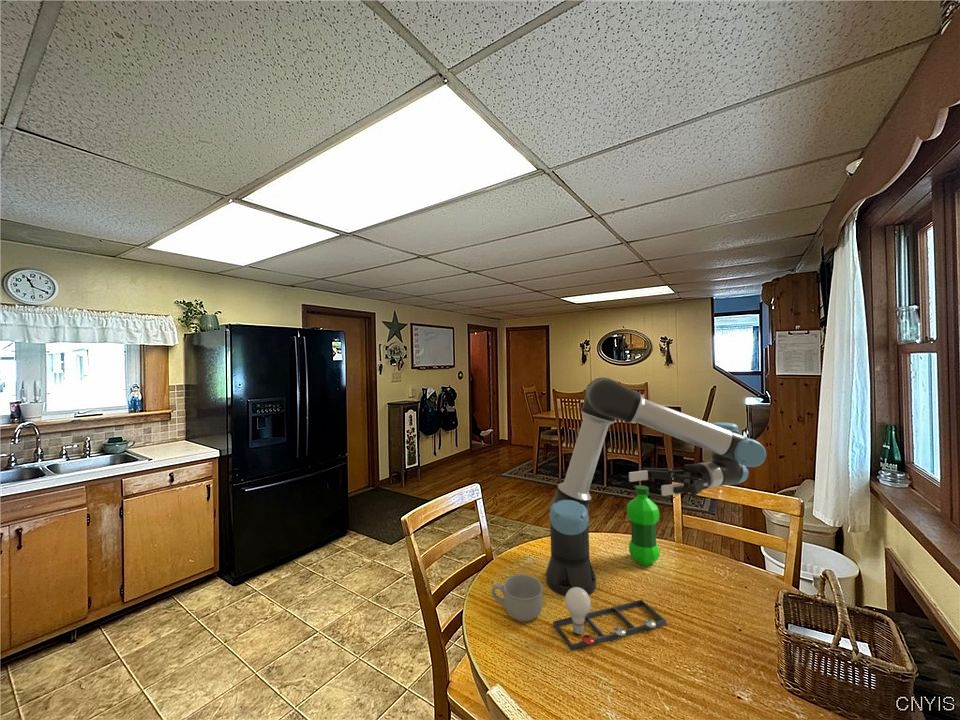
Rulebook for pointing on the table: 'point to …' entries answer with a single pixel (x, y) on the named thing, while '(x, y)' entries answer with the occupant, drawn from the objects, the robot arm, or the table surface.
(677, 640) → the table surface
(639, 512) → the plastic bottle
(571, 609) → the lightbulb
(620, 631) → the dark grey flat frame
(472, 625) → the table surface
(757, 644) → the table surface
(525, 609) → the teacup
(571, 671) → the table surface
